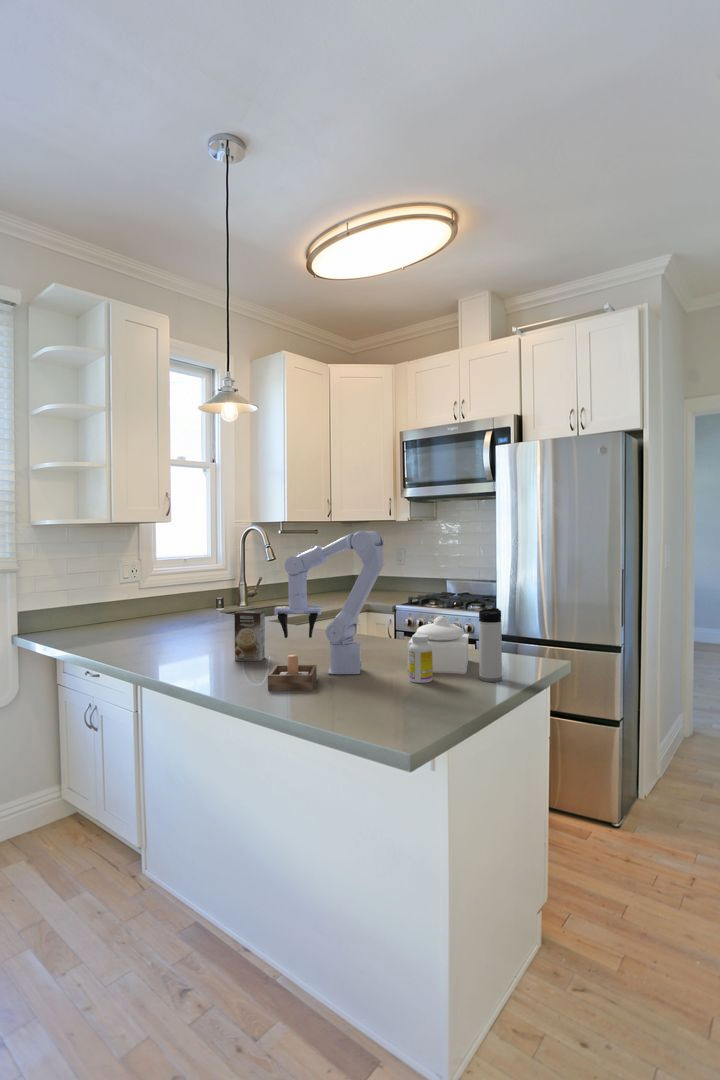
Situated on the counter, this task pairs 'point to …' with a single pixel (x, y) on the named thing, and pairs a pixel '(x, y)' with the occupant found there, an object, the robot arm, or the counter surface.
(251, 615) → the coffee box
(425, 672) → the supplement bottle
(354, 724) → the counter surface
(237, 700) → the counter surface
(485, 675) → the travel mug
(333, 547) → the robot arm
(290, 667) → the peg
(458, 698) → the counter surface
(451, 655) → the white lidded jar
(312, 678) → the peg box
